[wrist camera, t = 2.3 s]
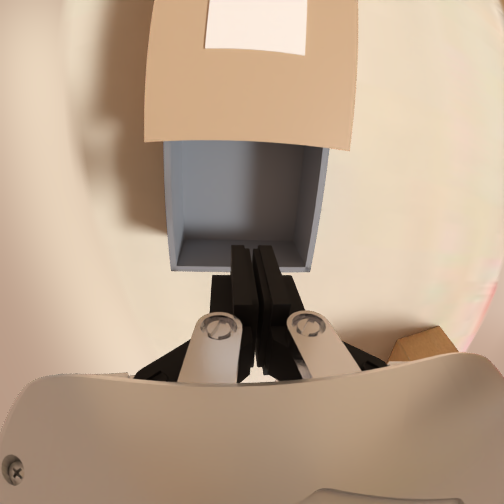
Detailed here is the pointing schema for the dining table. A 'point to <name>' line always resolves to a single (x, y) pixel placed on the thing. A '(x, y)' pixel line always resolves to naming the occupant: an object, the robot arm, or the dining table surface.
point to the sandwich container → (422, 346)
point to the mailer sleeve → (252, 71)
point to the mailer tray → (242, 201)
